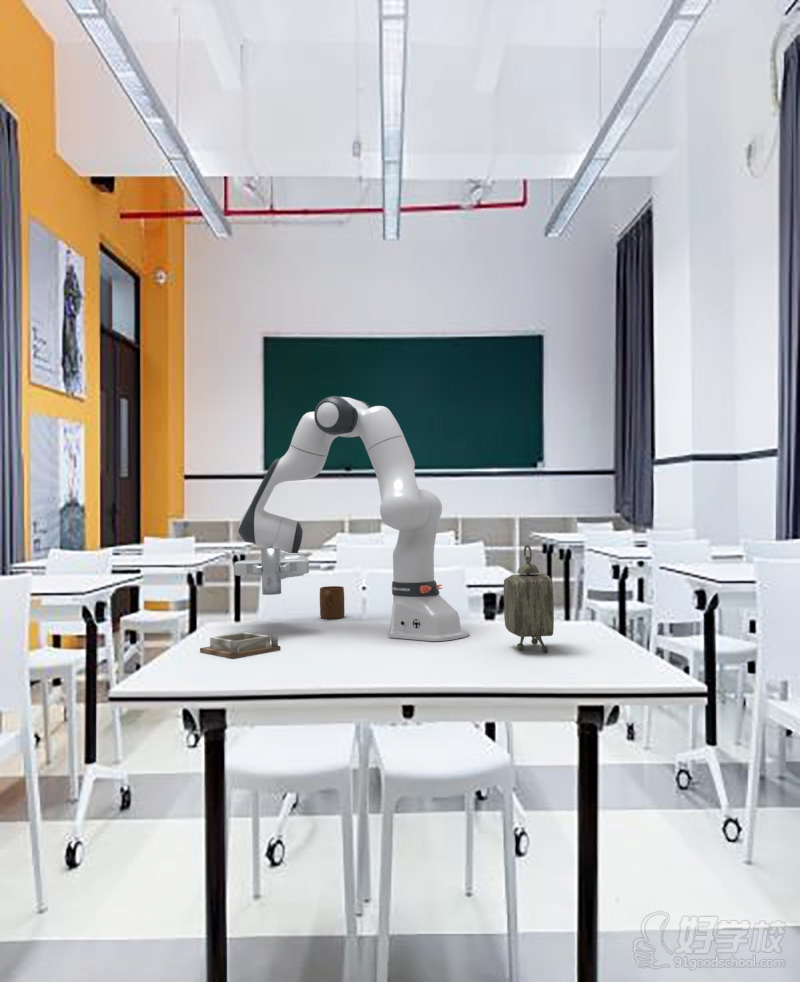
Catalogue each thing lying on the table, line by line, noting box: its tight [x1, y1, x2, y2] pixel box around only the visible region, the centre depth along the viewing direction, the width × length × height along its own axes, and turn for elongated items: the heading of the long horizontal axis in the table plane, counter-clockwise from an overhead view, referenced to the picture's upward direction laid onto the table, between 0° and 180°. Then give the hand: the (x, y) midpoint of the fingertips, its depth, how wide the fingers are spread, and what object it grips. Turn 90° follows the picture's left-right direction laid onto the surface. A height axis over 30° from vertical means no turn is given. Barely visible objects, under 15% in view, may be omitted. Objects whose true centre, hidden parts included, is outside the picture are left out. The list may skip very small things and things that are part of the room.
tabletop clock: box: [503, 544, 555, 654], centre depth 204 cm, size 14×9×25 cm, turn 4°
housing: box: [199, 631, 281, 660], centre depth 211 cm, size 14×14×4 cm
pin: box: [260, 547, 282, 596], centre depth 228 cm, size 5×5×12 cm
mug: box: [319, 585, 345, 620], centre depth 263 cm, size 12×8×9 cm, turn 172°
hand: (270, 569), depth 227 cm, fingers closed on pin, 5 cm apart
